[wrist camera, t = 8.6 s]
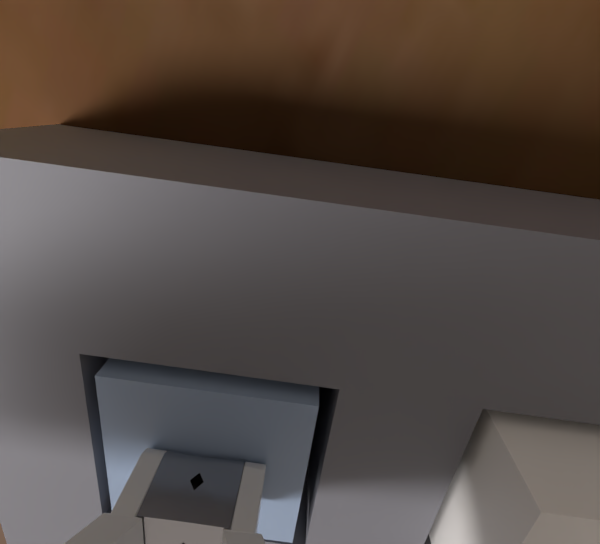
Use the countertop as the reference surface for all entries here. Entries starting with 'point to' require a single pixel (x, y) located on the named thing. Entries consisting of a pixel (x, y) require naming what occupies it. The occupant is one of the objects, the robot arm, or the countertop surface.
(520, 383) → the key panel
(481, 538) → the white key
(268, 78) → the countertop surface
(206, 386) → the slate blue key
